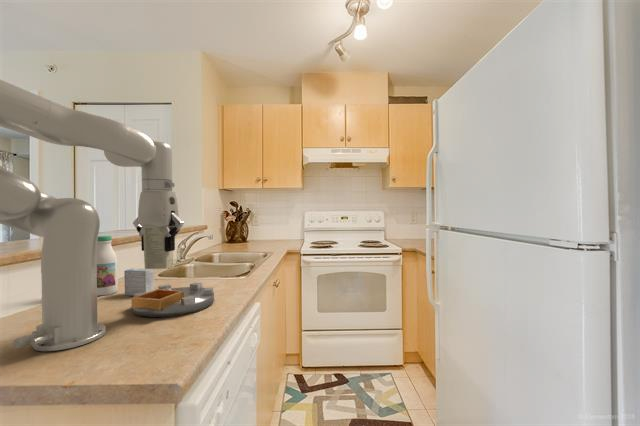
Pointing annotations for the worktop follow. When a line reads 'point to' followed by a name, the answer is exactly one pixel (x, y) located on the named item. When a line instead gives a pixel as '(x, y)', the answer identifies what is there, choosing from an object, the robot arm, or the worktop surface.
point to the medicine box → (138, 280)
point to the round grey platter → (172, 300)
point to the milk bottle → (106, 267)
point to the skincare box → (156, 249)
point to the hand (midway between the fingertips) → (158, 250)
